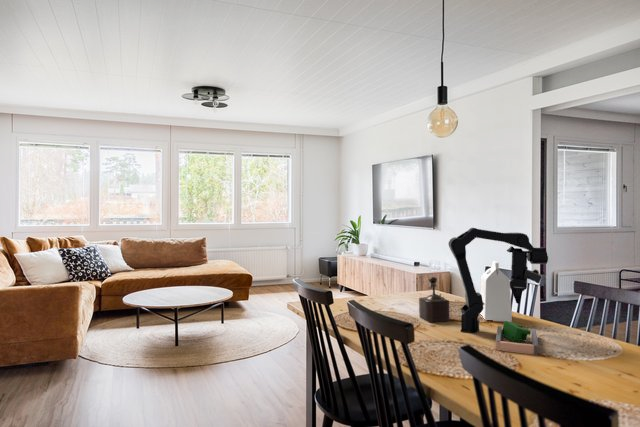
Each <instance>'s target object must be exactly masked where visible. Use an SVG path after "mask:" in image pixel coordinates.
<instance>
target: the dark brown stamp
mask: <svg viewBox="0 0 640 427" xmlns="http://www.w3.org/2000/svg"><path fill="white" fill-rule="evenodd" d="M437 279H438V278H437V277H435V276H434V277H433V276H432V277H430V278H429V279H428V281H429V283H430V286H429V287H427V289H428V290H432V294H430V295H428V296H425V297H419V298H418V306H419V307H418V309H419V310H418V311H419V319H421V320H424V321H425V322H427V323H442V322H444V323H445V322H450V300H448V299H446V298H445V297H444V296H442V294H441V293H440V294H437V293H436V287H437V284H436V283H437V282H438V280H437Z"/></svg>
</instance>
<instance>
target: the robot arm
mask: <svg viewBox="0 0 640 427" xmlns="http://www.w3.org/2000/svg"><path fill="white" fill-rule="evenodd" d="M475 239H484V240H490V241H495V242H501V243H502V242H503V243H506V244H509V245H511V246H510V247H509V248H507V249H506V252H508V253H511V266H510V267H511V276H510V279H509V280H510V291H511V292H512V293H511V294H512V295H513V297H514V301H515V303H516V304H520V303H521V299H522V294H523V292H524V291H525V290H527V289H528V280H530V281H532V282H534V283H536V284H540V282H541V280H542V278H543V274H541V273H540V272H539V270H538V269H533V270H530V269H528V262H529V263H530V264H531V265H532V264H533V265H547V263H548V262H549V256H548V251H547V248H546V247H542V246H541V247H534V246H533V245H532V244H531V242H530V238H529V236H528V234H525V233H523V232H498V231H492V230H487V229H481V228H476V227H471V228H469V229H467V231H465V232H463V233H461V234H459V235H458V236H457V237H456V236H455V237H452V238H451V239H449V241H448V247H449V248H448V249H450V251H451V253H452V255H453V257H454V259H455V261H456V264H457V268H458V271H459V275H460V277H461V281H462V285H463V288H464V289H463V290H464V291H465V292H464V293H465V294H464V298H465V299H464V300H465V304H464V305H463V306H461V308H460V311H461V313H462V314H461V316H460V317H461V320H460V321H461V322H460V324H461V325H460V332H461V333H462V332H463V333H471V334H477V333H478V331H480V319H479V318H478V317H479V315H480V313H481V312H482V310H483V305H485V304H484V303H483V301H482V295H481V292H479V291H478V292H477V291H476V288H475V284H474V282H473V281H474V280H473V278H472V274H471V272H470V271H471V270H470V268H469V264H468V261H467V249H466V246H467V245H469V244H470V243H471V242H472V241H474V240H475ZM514 247H518V248H514ZM523 249H524V250H523Z"/></svg>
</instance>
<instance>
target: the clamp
mask: <svg viewBox="0 0 640 427" xmlns="http://www.w3.org/2000/svg"><path fill="white" fill-rule="evenodd" d="M530 335H532V330H529V329H528V328H523V325H521V324H520V323H516V322H513V321H512V322H508V321H503V326H502V336H503V337H505V338H506V337H507V338H506V339H508V340H509V341H511V342H513V343H517V342H519V343H520V341H522V340H526V341H527V339H528V336H530Z"/></svg>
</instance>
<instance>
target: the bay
mask: <svg viewBox="0 0 640 427" xmlns="http://www.w3.org/2000/svg"><path fill="white" fill-rule="evenodd" d="M502 329H503V326H502V325H497V331H496V337H495V349H498V350H497V351H500V350H502V351H501V352H508V353H509V352H510V353H518V354H528V355H534V356H535V355H536V356H538V355H539V342H538V335H537V329H536V328H531V343H521V342H519V343H517V342H513V341H511V342H510V341H502V336H503V335H502ZM532 344H533V345H532ZM495 349H494V350H495Z"/></svg>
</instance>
